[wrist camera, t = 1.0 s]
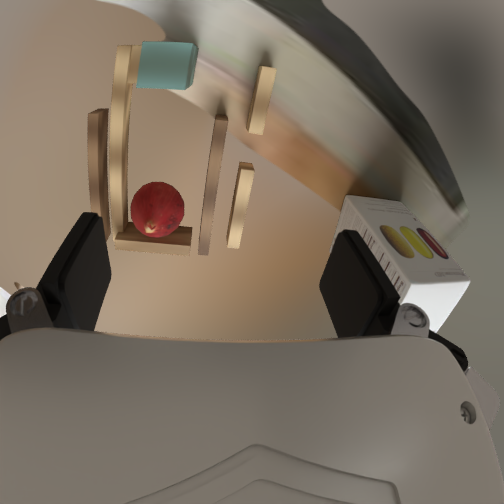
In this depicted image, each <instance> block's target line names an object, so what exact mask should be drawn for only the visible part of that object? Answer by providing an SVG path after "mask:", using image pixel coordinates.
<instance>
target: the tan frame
mask: <svg viewBox="0 0 504 504" xmlns="http://www.w3.org/2000/svg"><path fill="white" fill-rule="evenodd" d="M198 49H199V48H197V47H196V46H195V45H194V44H193V43H182V42H142V45H121V46H118V47H117V53H116V62H115V69H114V78H113V88H112V100H111V116H110V146H109V149H110V150H109V170H110V198H111V199H110V200H111V216H112V228H113V241H115V249H116V250H127V251H138V252H149V253H160V254H172V255H183V256H189V255H190V246H191V237H192V227H184V226H178V228H177V229H175V230H174V231H173V232H172V233H170V234H169V235H167V236H163V237H159V238H155V237H149V236H147V235H144V234H142V233H141V232H140V231H139V230H138V229H137V228H136V227H135V225H134V223H133V222H128V203H127V202H128V199H127V164H128V135H129V117H130V105H131V95H132V85H133V83H137V85H136V88H160V89H177V90H186V89H187V88H188V87H190V86H191V85H192V83H193V77H194V71H195V65H196V60H197V54H198Z"/></svg>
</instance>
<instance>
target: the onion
mask: <svg viewBox="0 0 504 504" xmlns="http://www.w3.org/2000/svg"><path fill="white" fill-rule="evenodd" d="M183 216H184V201H183V199H182V197H181V195H180V193H179V192H178V191H177V190H176V189H175V188H174V187H173V186H171V185H169V184H166V183H164V182H151V183H148V184H146V185H143V186H142V187H141V188H140V189H139V190H138V191H137V193H136V194H135V195H134V197H133V200H132V203H131V219H132V221H133V223H134V225H135V227H136V228H137V229H138V230H139V231H140V232H141V233H142V234H144V235H147V236H149V237H155V238H159V237H163V236H167V235H169V234H170V233H172V232H173V231H174V230H175V229H177V228H178V226H179V224H180V222H181V221H182V219H183Z"/></svg>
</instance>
